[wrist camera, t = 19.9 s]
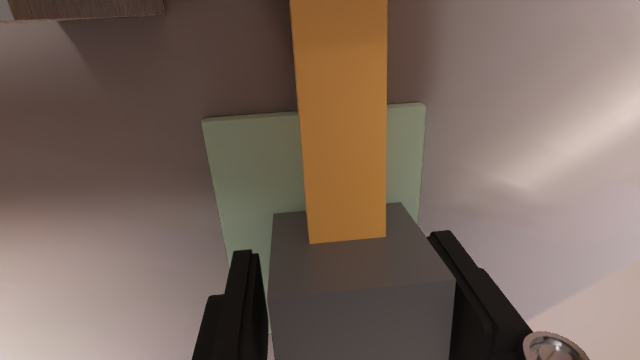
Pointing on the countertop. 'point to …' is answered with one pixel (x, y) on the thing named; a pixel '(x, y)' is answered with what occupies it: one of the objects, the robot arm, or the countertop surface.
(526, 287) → the countertop surface
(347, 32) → the plug
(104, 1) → the block
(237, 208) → the mat
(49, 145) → the countertop surface
